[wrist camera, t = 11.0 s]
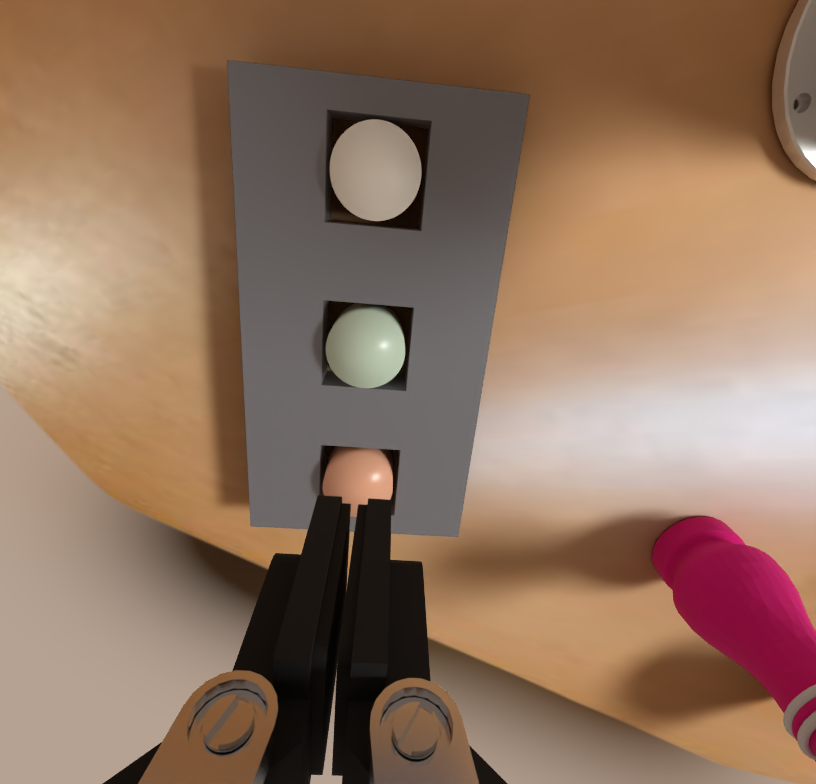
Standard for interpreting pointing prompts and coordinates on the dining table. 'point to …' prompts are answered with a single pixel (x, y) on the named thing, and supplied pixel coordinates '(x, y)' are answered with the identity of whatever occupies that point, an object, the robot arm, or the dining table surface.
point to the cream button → (375, 170)
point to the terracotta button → (359, 475)
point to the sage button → (366, 345)
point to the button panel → (366, 285)
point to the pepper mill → (745, 614)
